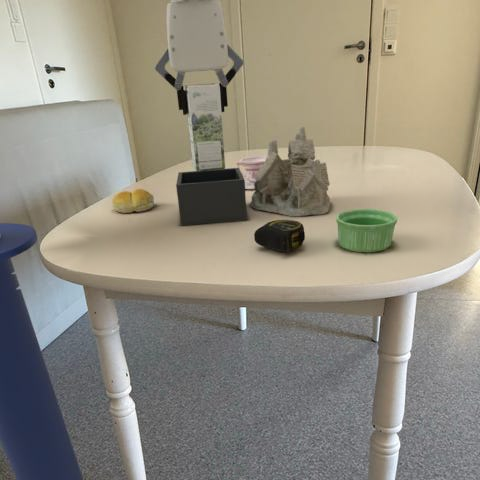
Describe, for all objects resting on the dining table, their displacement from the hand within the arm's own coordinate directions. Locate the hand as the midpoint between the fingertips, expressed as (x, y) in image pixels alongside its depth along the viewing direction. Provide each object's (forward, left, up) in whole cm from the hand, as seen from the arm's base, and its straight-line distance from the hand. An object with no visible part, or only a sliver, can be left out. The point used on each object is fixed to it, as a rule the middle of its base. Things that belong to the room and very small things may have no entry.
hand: (203, 111), depth 82 cm
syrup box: (0, 0, -10) cm, 10 cm away
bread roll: (-17, +10, -19) cm, 28 cm away
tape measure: (+10, -24, -19) cm, 32 cm away
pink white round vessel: (+12, +24, -19) cm, 33 cm away
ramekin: (+23, -25, -19) cm, 39 cm away
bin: (0, 0, -19) cm, 19 cm away
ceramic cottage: (+16, +1, -19) cm, 25 cm away
